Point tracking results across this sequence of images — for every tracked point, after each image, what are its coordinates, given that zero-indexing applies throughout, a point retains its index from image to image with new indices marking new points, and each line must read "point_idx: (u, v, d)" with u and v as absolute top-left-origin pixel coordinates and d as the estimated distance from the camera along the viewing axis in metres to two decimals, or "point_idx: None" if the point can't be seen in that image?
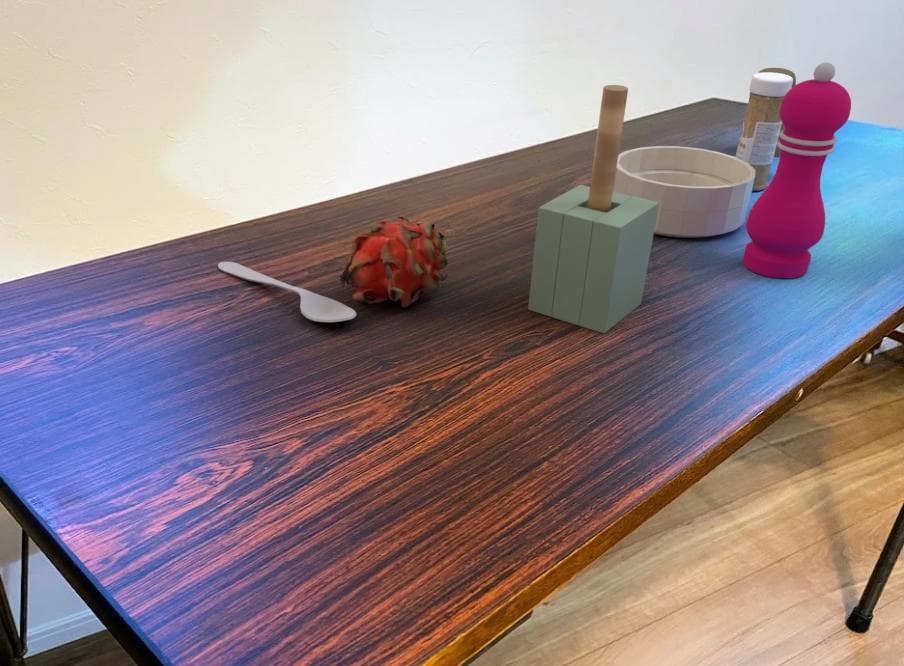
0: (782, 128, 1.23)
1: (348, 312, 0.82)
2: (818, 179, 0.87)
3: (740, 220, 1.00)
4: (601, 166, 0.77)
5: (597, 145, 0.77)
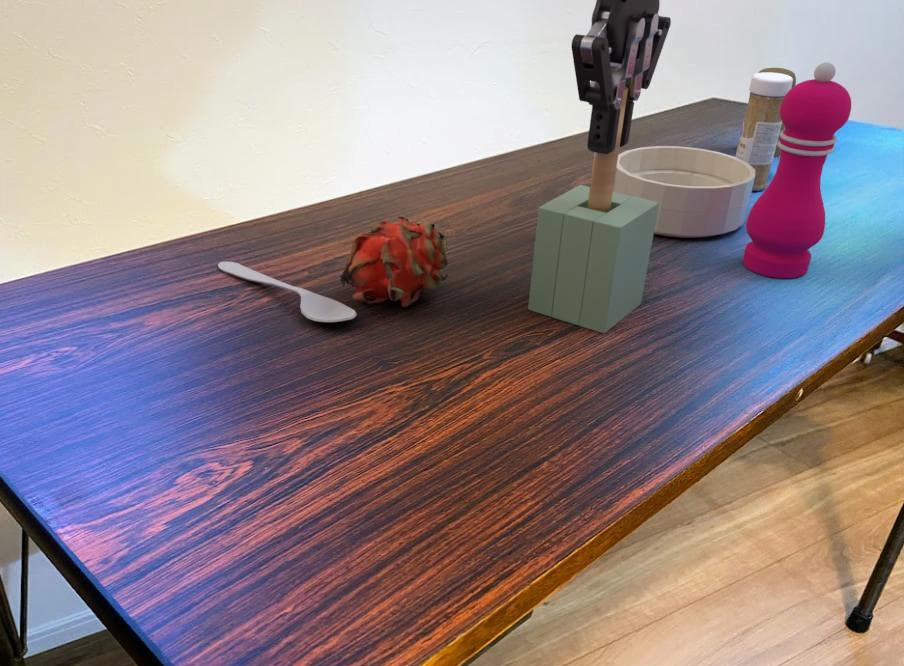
0: (782, 128, 1.23)
1: (348, 312, 0.82)
2: (818, 179, 0.87)
3: (740, 220, 1.00)
4: (601, 166, 0.77)
5: None
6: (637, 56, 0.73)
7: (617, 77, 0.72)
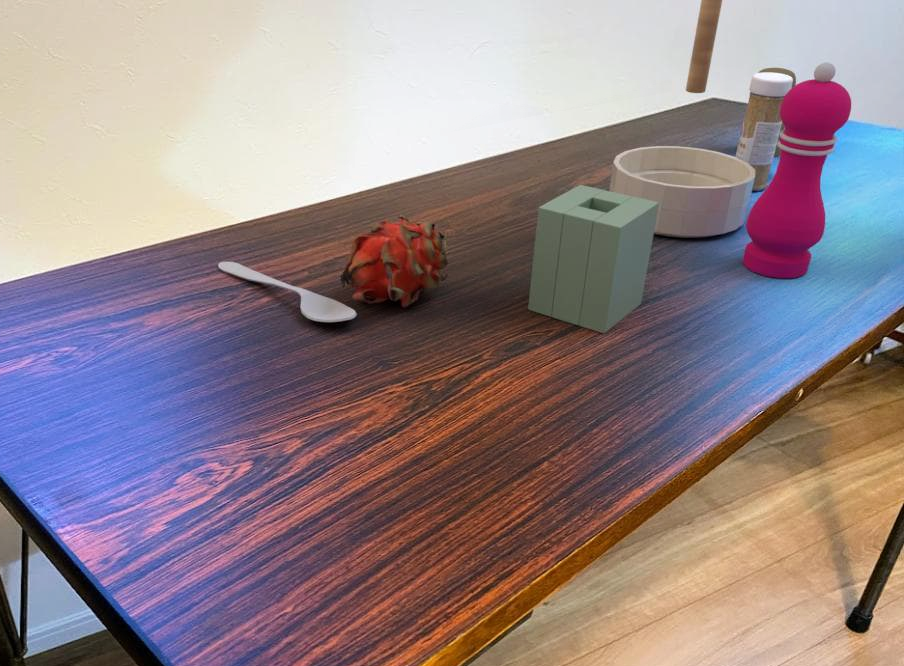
0: (782, 128, 1.23)
1: (348, 312, 0.82)
2: (818, 179, 0.87)
3: (740, 220, 1.00)
4: None
5: None
6: None
7: None
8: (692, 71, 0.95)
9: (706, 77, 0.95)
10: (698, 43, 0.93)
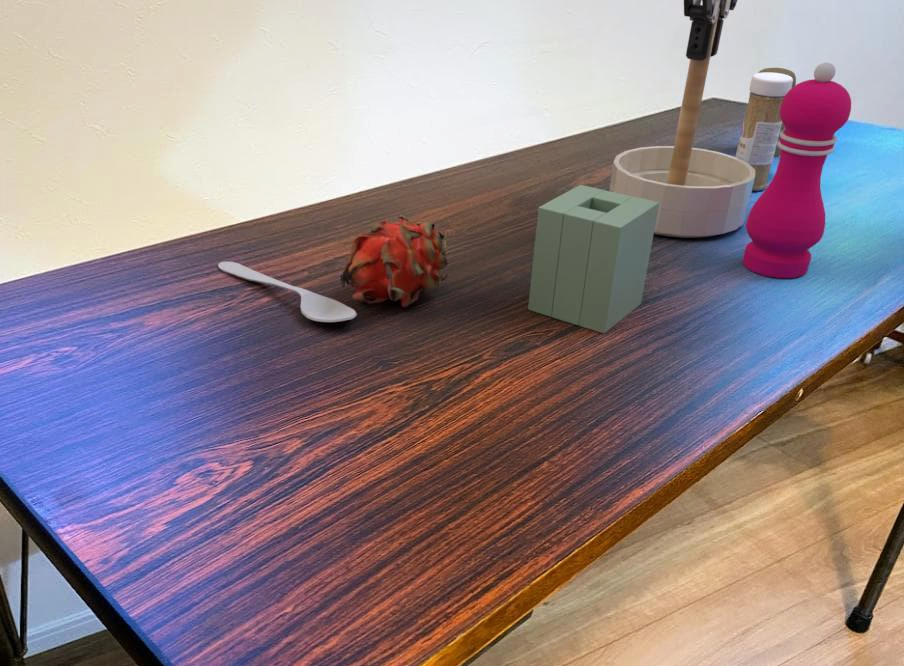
0: (782, 128, 1.23)
1: (348, 312, 0.82)
2: (818, 179, 0.87)
3: (740, 220, 1.00)
4: (695, 71, 0.98)
5: None
6: None
7: None
8: (671, 175, 1.04)
9: (684, 181, 1.04)
10: (677, 151, 1.03)
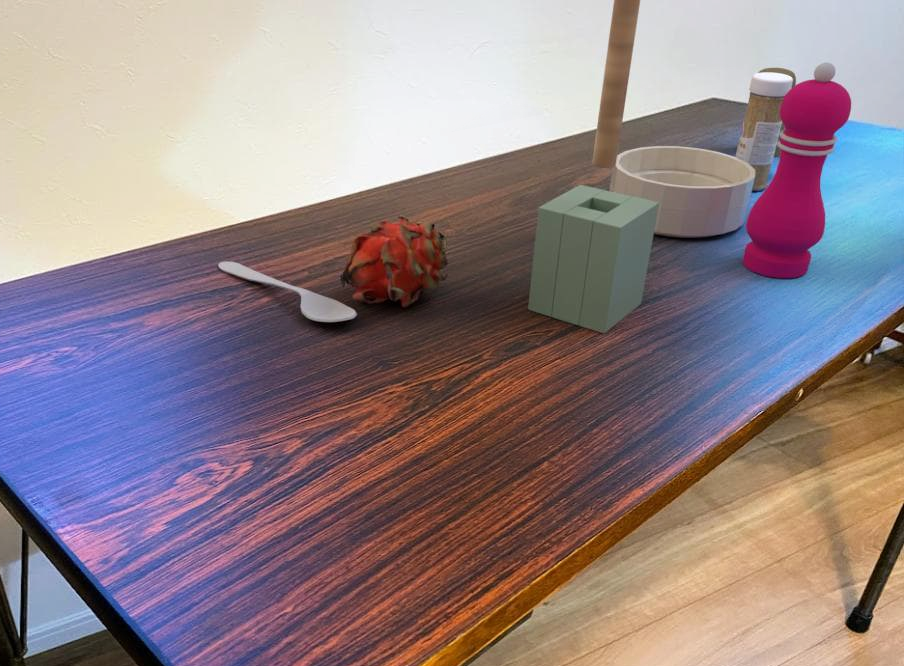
0: (782, 128, 1.23)
1: (349, 312, 0.82)
2: (818, 179, 0.87)
3: (740, 220, 1.00)
4: None
5: None
6: None
7: None
8: (598, 141, 0.77)
9: (616, 149, 0.77)
10: (604, 108, 0.75)
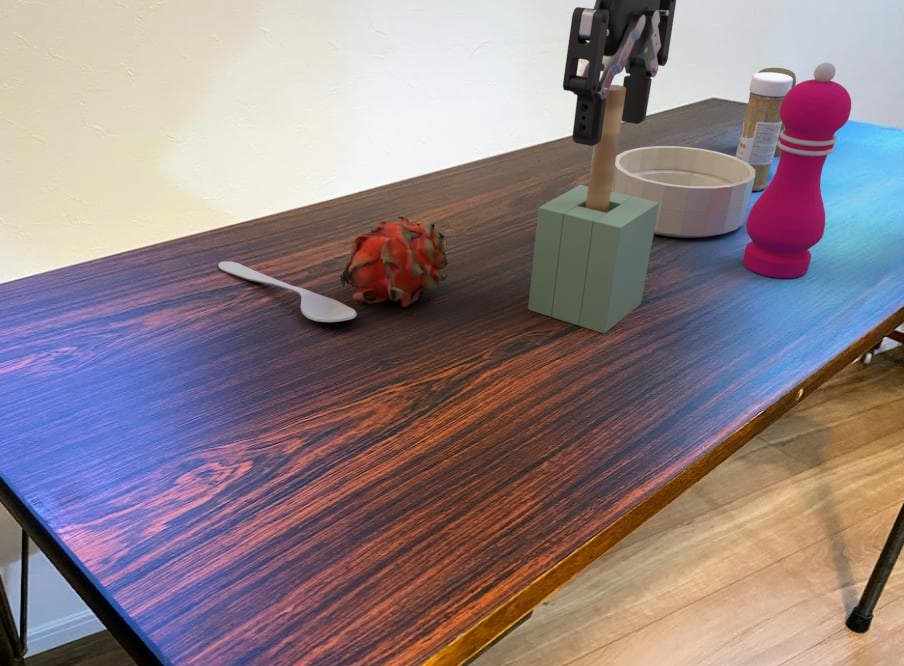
0: (782, 128, 1.23)
1: (349, 312, 0.82)
2: (818, 179, 0.87)
3: (740, 220, 1.00)
4: (599, 166, 0.77)
5: (595, 145, 0.77)
6: (637, 53, 0.73)
7: (609, 64, 0.70)
8: None
9: None
10: None
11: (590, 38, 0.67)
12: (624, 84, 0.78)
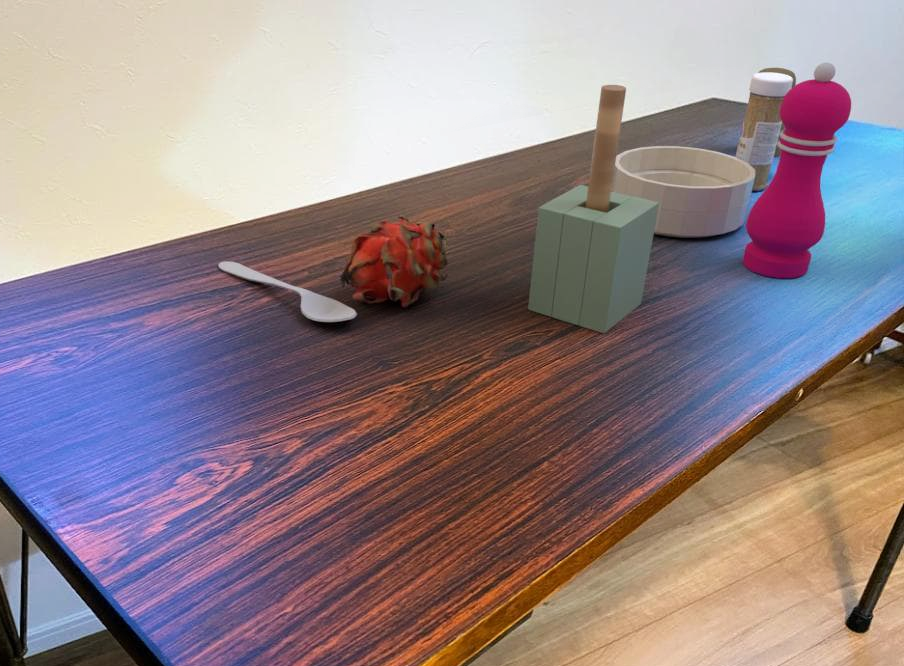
0: (782, 128, 1.23)
1: (349, 312, 0.82)
2: (818, 179, 0.87)
3: (740, 220, 1.00)
4: (599, 166, 0.77)
5: (595, 145, 0.77)
6: None
7: None
8: None
9: None
10: None
11: None
12: None
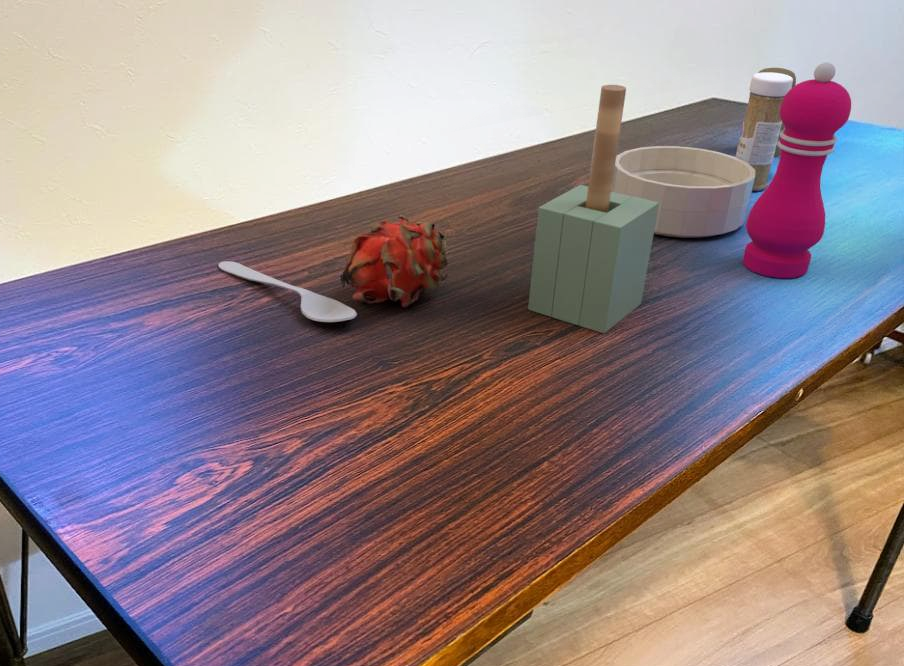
0: (782, 128, 1.23)
1: (349, 312, 0.82)
2: (818, 179, 0.87)
3: (740, 220, 1.00)
4: (599, 166, 0.77)
5: (595, 145, 0.77)
6: None
7: None
8: None
9: None
10: None
11: None
12: None
